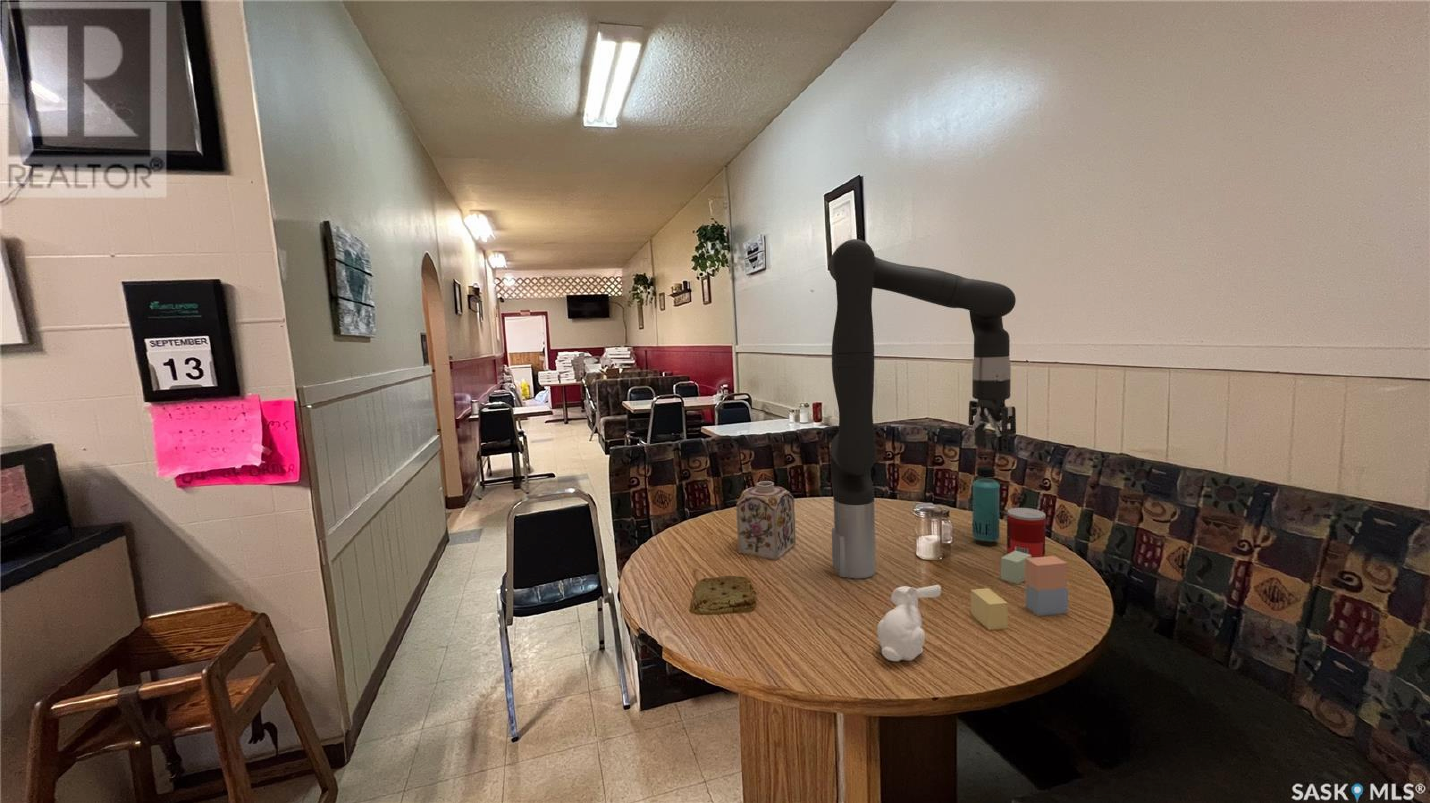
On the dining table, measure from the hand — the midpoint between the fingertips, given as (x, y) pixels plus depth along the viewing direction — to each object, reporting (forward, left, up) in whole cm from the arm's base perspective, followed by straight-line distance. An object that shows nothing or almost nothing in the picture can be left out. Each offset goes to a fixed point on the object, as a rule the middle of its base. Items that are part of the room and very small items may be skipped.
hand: (990, 449), depth 121 cm
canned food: (+12, +5, -28) cm, 31 cm away
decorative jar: (-48, +22, -28) cm, 60 cm away
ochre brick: (-13, -21, -28) cm, 37 cm away
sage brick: (+3, -5, -28) cm, 29 cm away
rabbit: (-32, -27, -28) cm, 51 cm away
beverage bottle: (+8, +15, -28) cm, 33 cm away
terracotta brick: (0, -19, -23) cm, 30 cm away
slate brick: (0, -19, -28) cm, 34 cm away
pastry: (-62, -3, -29) cm, 68 cm away
